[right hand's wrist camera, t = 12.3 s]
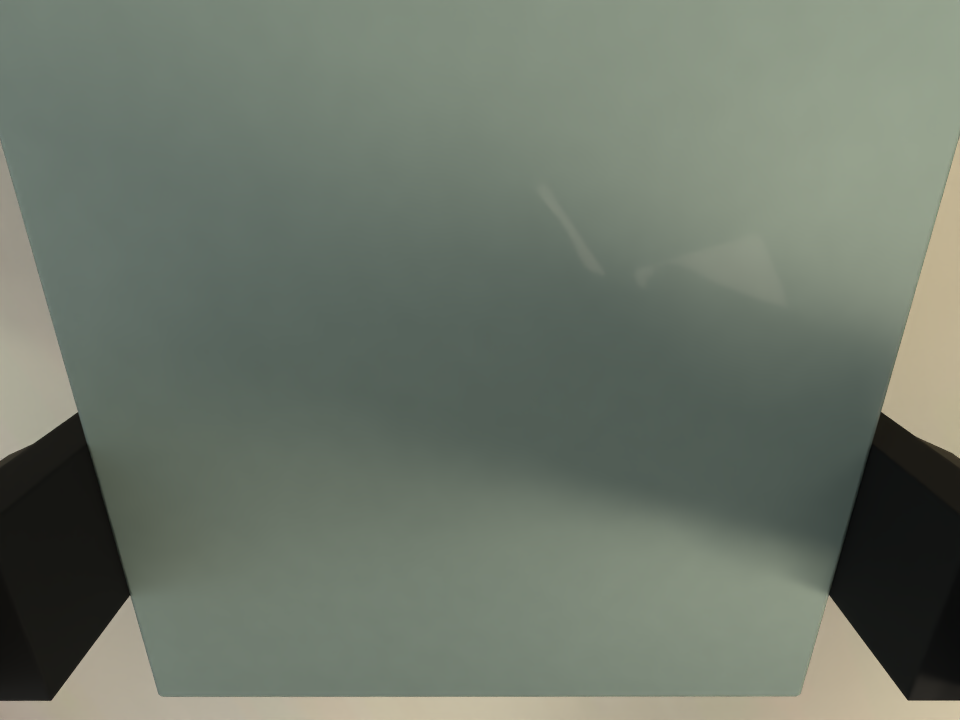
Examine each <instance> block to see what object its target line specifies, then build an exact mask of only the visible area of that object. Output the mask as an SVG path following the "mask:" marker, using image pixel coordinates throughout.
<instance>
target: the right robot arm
mask: <svg viewBox="0 0 960 720" xmlns="http://www.w3.org/2000/svg"><path fill="white" fill-rule="evenodd" d="M829 595H830V597H831V598H832V599H833V601H834V602H835V603H836V605H837V606H838V607H839V609H840V610H841V611H842V613H843V614H844V615H845V617H846V618H847V619H848V621H849V622H850V623H851V625H852V626H853V627H854V629H855V630H856V631H857V633H858V634H859V636H860V637H861V638H862V640H863V641H864V642H865V644H866V645H867V646H868V648H869V649H870V650H871V652H872V653H873V654H874V656H875V657H876V658H877V660H878V661H879V662H880V664H881V665H882V666H883V668H884V669H885V670H886V672H887V673H888V674H889V676H890V677H891V678H892V680H893V681H894V682H895V684H896V685H897V687H898V688H899V689H900V691H901V692H902V693H903V695H904V696H905V697H906V699H907V700H960V458H958V457H957V456H955V455H954V454H952V453H950V452H948V451H946V450H944V449H942V448H939V447H937V446H935V445H933V444H931V443H928V442H926V441H924V440H922V439H920V438H917V437H915V436H914V435H913V434H911V433H910V432H908V431H907V430H906V429H904V428H903V427H901V426H900V425H899V424H897V423H896V422H894V421H893V420H892V419H890V418H889V417H887V416H886V415H885V414H883V413H882V412H881V413H880V417H879V420H878V424H877V427H876V431H875V434H874V438H873V441H872V445H871V448H870V452H869V455H868V459H867V462H866V466H865V469H864V473H863V476H862V480H861V483H860V487H859V490H858V494H857V497H856V501H855V504H854V508H853V511H852V515H851V518H850V522H849V525H848V529H847V532H846V536H845V539H844V543H843V546H842V550H841V553H840V557H839V560H838V564H837V568H836V571H835V575H834V578H833V582H832V585H831V589H830V592H829ZM129 596H130V592H129V589H128V585H127V582H126V578H125V575H124V571H123V568H122V564H121V561H120V557H119V554H118V550H117V547H116V543H115V539H114V536H113V532H112V529H111V525H110V522H109V518H108V515H107V511H106V508H105V504H104V501H103V497H102V494H101V490H100V487H99V483H98V480H97V476H96V473H95V469H94V466H93V462H92V459H91V455H90V452H89V448H88V445H87V441H86V438H85V434H84V431H83V427H82V424H81V420H80V417H79V413H76V414H75V415H73V416H72V417H71V418H69V419H68V420H66V421H65V422H64V423H62V424H61V425H59V426H58V427H57V428H55V429H54V430H52V431H51V432H49V433H48V434H47V435H45V436H44V437H42V438H41V439H40V440H38V441H37V442H35V443H34V444H32V445H30V446H28V447H26V448H23V449H21V450H19V451H17V452H15V453H12V454H10V455H8V456H7V457H5V458H4V459H2V460H1V461H0V701H51V700H52V699H53V698H54V696H55V695H56V694H57V692H58V691H59V690H60V688H61V687H62V686H63V684H64V683H65V682H66V680H67V679H68V678H69V676H70V675H71V674H72V672H73V671H74V669H75V668H76V667H77V665H78V664H79V663H80V661H81V660H82V659H83V657H84V656H85V655H86V653H87V652H88V651H89V649H90V648H91V647H92V645H93V644H94V643H95V641H96V640H97V639H98V637H99V636H100V635H101V633H102V632H103V631H104V629H105V628H106V627H107V625H108V624H109V623H110V621H111V620H112V619H113V617H114V616H115V614H116V613H117V612H118V610H119V609H120V608H121V606H122V605H123V604H124V602H125V601H126V600H127V598H128V597H129Z"/></svg>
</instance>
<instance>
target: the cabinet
mask: <svg viewBox="0 0 960 720" xmlns="http://www.w3.org/2000/svg"><path fill="white" fill-rule="evenodd" d="M959 136H960V0H0V140H1V143H2V147H3V150H4V154H5V157H6V161H7V164H8V168H9V171H10V175H11V178H12V182H13V185H14V189H15V192H16V196H17V199H18V203H19V206H20V210H21V213H22V217H23V220H24V224H25V227H26V231H27V234H28V238H29V241H30V245H31V248H32V252H33V256H34V259H35V263H36V266H37V270H38V273H39V277H40V280H41V284H42V287H43V291H44V294H45V298H46V301H47V305H48V308H49V312H50V315H51V319H52V322H53V326H54V329H55V333H56V336H57V340H58V343H59V347H60V350H61V354H62V357H63V361H64V364H65V368H66V371H67V375H68V378H69V382H70V385H71V389H72V392H73V396H74V399H75V403H76V406H77V410H78V413H79V417H80V420H81V424H82V427H83V431H84V434H85V438H86V441H87V445H88V448H89V452H90V455H91V459H92V462H93V466H94V469H95V473H96V476H97V480H98V483H99V487H100V490H101V494H102V497H103V501H104V504H105V508H106V511H107V515H108V518H109V522H110V525H111V529H112V532H113V536H114V539H115V543H116V547H117V550H118V554H119V557H120V561H121V564H122V568H123V571H124V575H125V578H126V582H127V585H128V589H129V592H130V596H131V599H132V603H133V606H134V610H135V613H136V617H137V620H138V624H139V627H140V631H141V634H142V638H143V641H144V645H145V648H146V652H147V655H148V659H149V662H150V666H151V669H152V673H153V676H154V680H155V683H156V687H157V690H158V694H159V695H160V696H163V697H569V696H798V695H800V694H801V690H802V687H803V683H804V680H805V676H806V673H807V669H808V666H809V662H810V659H811V655H812V652H813V648H814V645H815V641H816V638H817V634H818V631H819V627H820V624H821V620H822V617H823V613H824V610H825V606H826V603H827V599H828V596H829V592H830V589H831V585H832V582H833V578H834V575H835V571H836V568H837V564H838V560H839V557H840V553H841V550H842V546H843V543H844V539H845V536H846V532H847V529H848V525H849V522H850V518H851V515H852V511H853V508H854V504H855V501H856V497H857V494H858V490H859V487H860V483H861V480H862V476H863V473H864V469H865V466H866V462H867V459H868V455H869V452H870V448H871V445H872V441H873V438H874V434H875V431H876V427H877V424H878V420H879V417H880V413H881V410H882V406H883V403H884V399H885V395H886V392H887V388H888V385H889V381H890V378H891V374H892V371H893V367H894V364H895V360H896V357H897V353H898V350H899V346H900V343H901V339H902V336H903V332H904V329H905V325H906V322H907V318H908V315H909V311H910V308H911V304H912V301H913V297H914V294H915V290H916V287H917V283H918V280H919V276H920V273H921V269H922V266H923V262H924V259H925V255H926V252H927V248H928V245H929V241H930V237H931V234H932V230H933V227H934V223H935V220H936V216H937V213H938V209H939V206H940V202H941V199H942V195H943V192H944V188H945V185H946V181H947V178H948V174H949V171H950V167H951V164H952V160H953V157H954V153H955V150H956V146H957V143H958V139H959Z"/></svg>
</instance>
